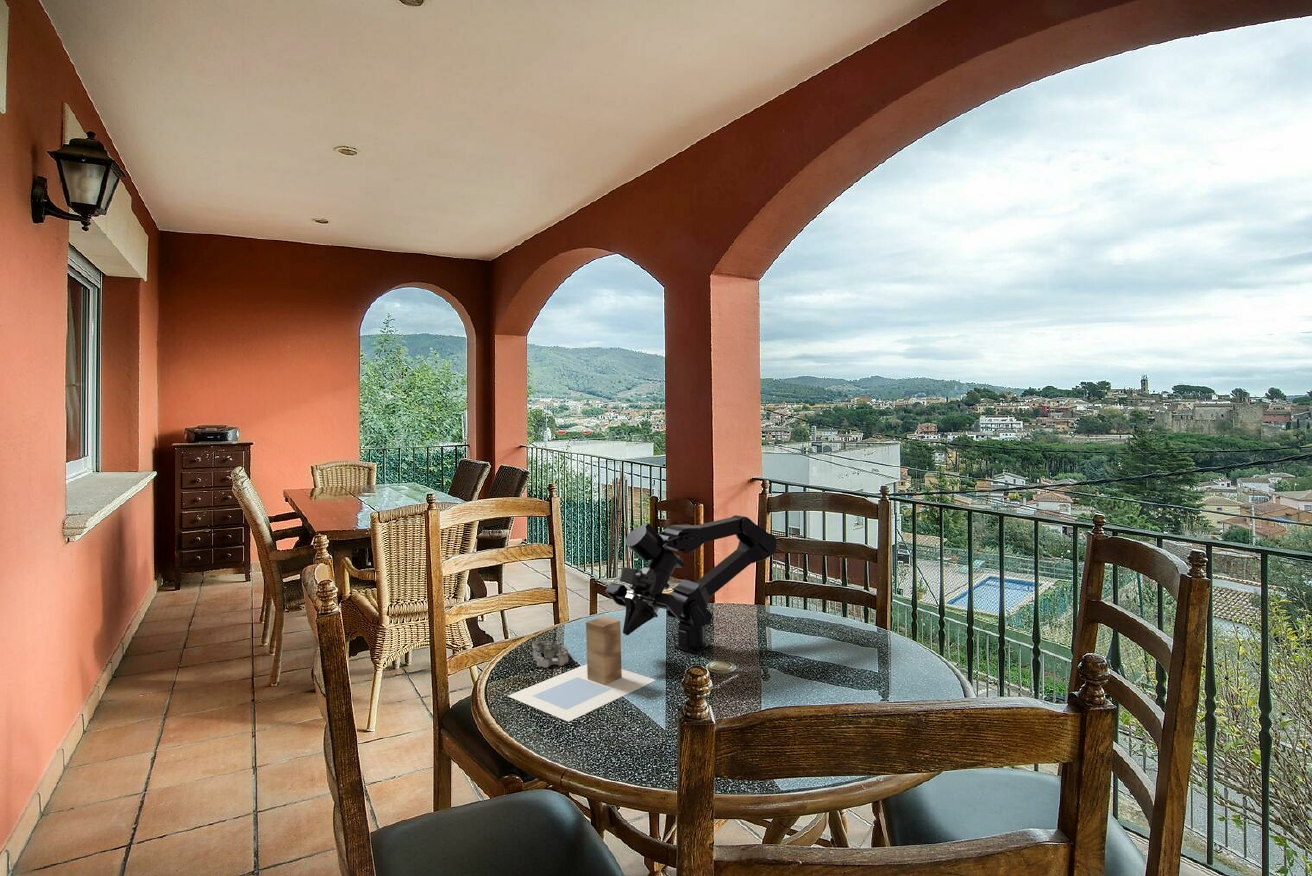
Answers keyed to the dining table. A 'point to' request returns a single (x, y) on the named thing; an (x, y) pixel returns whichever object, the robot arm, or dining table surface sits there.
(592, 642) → the oak block
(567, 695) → the mat
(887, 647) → the dining table surface
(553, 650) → the egg carton
